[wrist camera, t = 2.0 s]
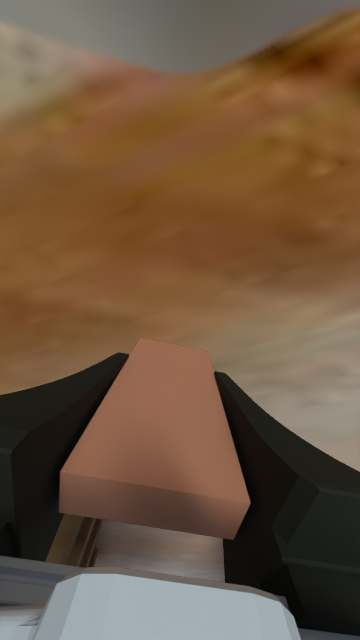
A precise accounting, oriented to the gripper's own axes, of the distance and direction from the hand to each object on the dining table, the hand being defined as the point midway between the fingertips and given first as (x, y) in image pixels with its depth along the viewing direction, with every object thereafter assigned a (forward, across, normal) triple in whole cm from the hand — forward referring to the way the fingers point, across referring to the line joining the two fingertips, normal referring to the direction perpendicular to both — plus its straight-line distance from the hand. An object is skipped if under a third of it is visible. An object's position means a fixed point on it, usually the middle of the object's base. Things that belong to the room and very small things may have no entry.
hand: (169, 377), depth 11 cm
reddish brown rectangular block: (+3, 0, 0) cm, 3 cm away
